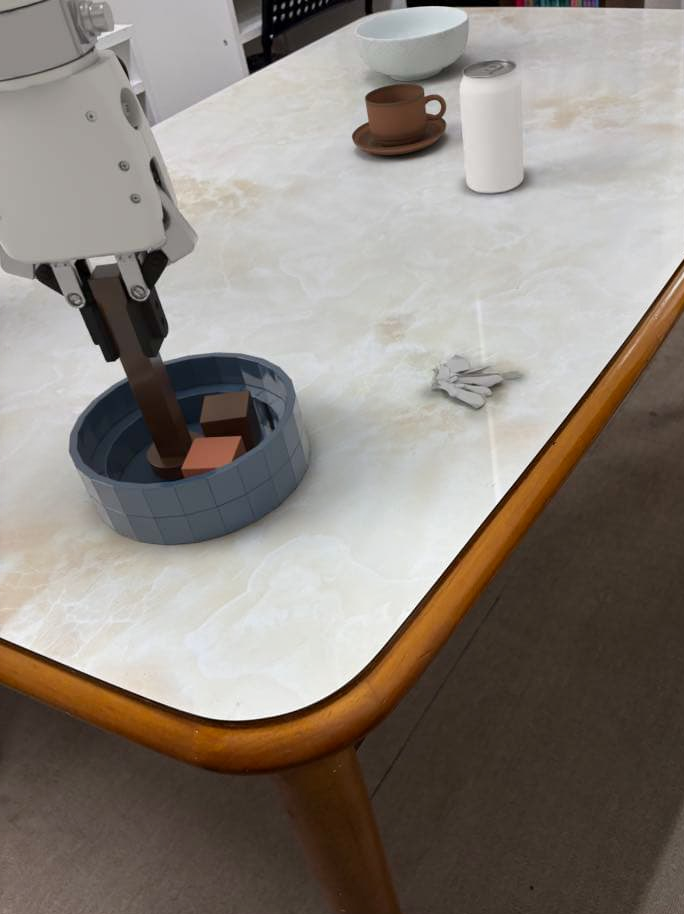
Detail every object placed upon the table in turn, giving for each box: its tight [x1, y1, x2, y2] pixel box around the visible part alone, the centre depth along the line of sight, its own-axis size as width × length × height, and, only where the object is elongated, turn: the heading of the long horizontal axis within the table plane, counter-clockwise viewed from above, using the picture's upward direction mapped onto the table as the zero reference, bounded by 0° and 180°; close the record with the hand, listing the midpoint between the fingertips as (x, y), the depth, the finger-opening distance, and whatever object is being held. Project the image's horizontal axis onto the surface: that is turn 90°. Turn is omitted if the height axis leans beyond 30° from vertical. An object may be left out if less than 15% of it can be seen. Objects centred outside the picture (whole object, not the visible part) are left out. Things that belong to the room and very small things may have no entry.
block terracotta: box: [182, 436, 247, 478], centre depth 61 cm, size 4×4×4 cm
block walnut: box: [200, 390, 261, 452], centre depth 65 cm, size 4×4×4 cm
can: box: [459, 58, 525, 195], centre depth 93 cm, size 6×6×12 cm
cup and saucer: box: [351, 83, 447, 156], centre depth 107 cm, size 12×12×6 cm
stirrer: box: [88, 262, 204, 480], centre depth 58 cm, size 4×4×15 cm
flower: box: [430, 354, 524, 409], centre depth 68 cm, size 8×8×3 cm
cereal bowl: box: [354, 5, 470, 82], centre depth 128 cm, size 17×17×7 cm
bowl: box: [68, 351, 311, 546], centre depth 63 cm, size 16×16×6 cm
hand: (136, 347), depth 57 cm, fingers closed on stirrer, 2 cm apart
